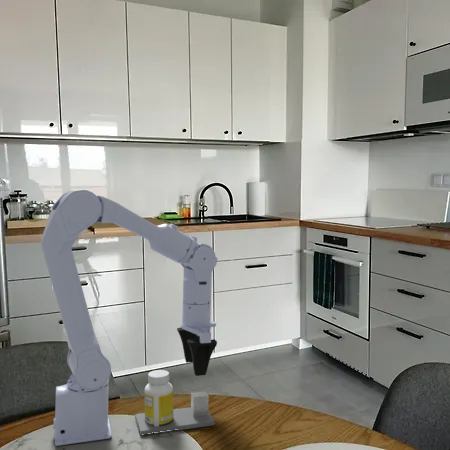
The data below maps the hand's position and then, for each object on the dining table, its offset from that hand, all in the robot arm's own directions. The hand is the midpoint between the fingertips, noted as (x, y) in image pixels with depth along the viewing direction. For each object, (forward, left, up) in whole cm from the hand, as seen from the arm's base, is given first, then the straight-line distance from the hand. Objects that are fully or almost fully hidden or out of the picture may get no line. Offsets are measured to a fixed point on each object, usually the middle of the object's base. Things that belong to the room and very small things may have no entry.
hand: (195, 368), depth 92 cm
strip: (-5, -4, -9) cm, 11 cm away
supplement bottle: (-8, -4, -9) cm, 13 cm away
